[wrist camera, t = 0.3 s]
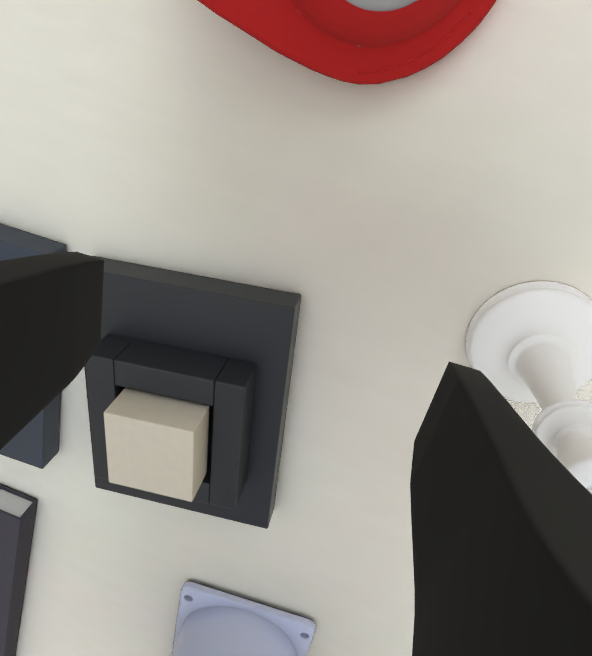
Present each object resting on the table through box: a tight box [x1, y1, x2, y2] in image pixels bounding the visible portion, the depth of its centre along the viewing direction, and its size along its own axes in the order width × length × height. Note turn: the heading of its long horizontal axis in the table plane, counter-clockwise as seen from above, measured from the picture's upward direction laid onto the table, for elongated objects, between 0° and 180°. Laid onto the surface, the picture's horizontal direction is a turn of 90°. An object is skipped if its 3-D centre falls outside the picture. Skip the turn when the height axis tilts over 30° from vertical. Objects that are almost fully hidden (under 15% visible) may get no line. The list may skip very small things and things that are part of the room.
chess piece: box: [466, 281, 592, 494], centre depth 16 cm, size 5×5×10 cm
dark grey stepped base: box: [84, 256, 301, 528], centre depth 23 cm, size 12×9×3 cm
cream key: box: [104, 388, 209, 502], centre depth 21 cm, size 4×4×2 cm
